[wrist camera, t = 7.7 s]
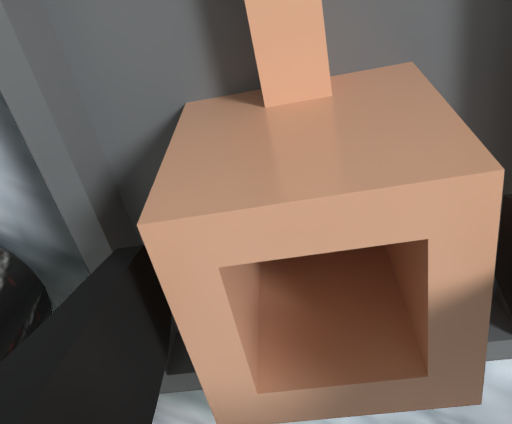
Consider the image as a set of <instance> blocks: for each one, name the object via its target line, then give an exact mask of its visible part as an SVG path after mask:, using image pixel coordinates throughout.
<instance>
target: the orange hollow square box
mask: <svg viewBox="0 0 512 424" xmlns="http://www.w3.org/2000/svg"><path fill="white" fill-rule="evenodd" d="M244 1H245V6H246V11H247V16H248V22H249V27H250V32H251V37H252V42H253V47H254V53H255V58H256V63H257V68H258V73H259V78H260V84H261V89H259V90H254V91H248V92H243V93H237V94H232V95H226V96H221V97H215V98H210V99H204V100H199V101H193V102H188V103H186V104H185V106H184V109H183V111H182V114H181V116H180V119H179V121H178V124H177V126H176V129H175V131H174V134H173V136H172V139H171V141H170V144H169V146H168V149H167V151H166V154H165V156H164V159H163V161H162V164H161V166H160V169H159V171H158V174H157V176H156V179H155V181H154V183H153V186H152V188H151V191H150V193H149V196H148V198H147V201H146V203H145V206H144V208H143V211H142V213H141V216H140V218H139V221H138V223H137V227H138V230H139V232H140V235H141V237H142V239H143V242H144V244H145V247H146V249H147V252H148V254H149V257H150V259H151V262H152V264H153V267H154V269H155V272H156V274H157V277H158V279H159V282H160V284H161V287H162V289H163V292H164V294H165V297H166V299H167V302H168V304H169V307H170V309H171V311H172V314H173V316H174V319H175V321H176V324H177V326H178V329H179V331H180V334H181V336H182V339H183V341H184V344H185V346H186V349H187V351H188V354H189V356H190V359H191V361H192V364H193V366H194V369H195V371H196V374H197V376H198V379H199V381H200V383H201V386H202V388H203V391H204V393H205V396H206V398H207V401H208V403H209V406H210V408H211V411H212V413H213V416H214V418H215V421H216V423H217V424H276V423H287V422H298V421H309V420H319V419H330V418H341V417H351V416H362V415H373V414H383V413H394V412H405V411H416V410H426V409H437V408H448V407H458V406H469V405H480V404H481V403H482V393H483V383H484V373H485V362H486V352H487V342H488V332H489V322H490V312H491V302H492V292H493V282H494V272H495V262H496V252H497V242H498V232H499V222H500V212H501V201H502V191H503V181H504V171H505V169H504V168H503V167H502V166H501V165H500V164H499V162H498V161H497V160H496V159H495V158H494V156H493V155H492V154H491V153H490V152H489V151H488V149H487V148H486V147H485V146H484V145H483V144H482V142H481V141H480V140H479V139H478V138H477V137H476V135H475V134H474V133H473V132H472V131H471V130H470V128H469V127H468V126H467V125H466V124H465V123H464V121H463V120H462V119H461V118H460V117H459V116H458V114H457V113H456V112H455V111H454V110H453V108H452V107H451V106H450V105H449V104H448V103H447V101H446V100H445V99H444V98H443V97H442V96H441V94H440V93H439V92H438V91H437V90H436V89H435V87H434V86H433V85H432V84H431V83H430V82H429V80H428V79H427V78H426V77H425V76H424V75H423V73H422V72H421V71H420V70H419V69H418V68H417V66H416V65H415V64H414V63H413V62H407V63H402V64H396V65H391V66H385V67H380V68H374V69H369V70H363V71H358V72H352V73H347V74H341V75H336V76H331V77H330V71H329V62H328V53H327V44H326V35H325V26H324V17H323V8H322V0H244Z"/></svg>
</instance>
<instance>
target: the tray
mask: <svg viewBox="0 0 512 424" xmlns="http://www.w3.org/2000/svg"><path fill="white" fill-rule="evenodd" d="M322 8H323V17H324V26H325V35H326V44H327V53H328V62H329V71H330V77H331V76H336V75H341V74H347V73H352V72H358V71H363V70H369V69H374V68H380V67H385V66H391V65H396V64H402V63H407V62H413V63H414V64H415V65H416V66H417V68H418V69H419V70H420V71H421V72H422V73H423V75H424V76H425V77H426V78H427V79H428V80H429V82H430V83H431V84H432V85H433V86H434V87H435V89H436V90H437V91H438V92H439V93H440V94H441V96H442V97H443V98H444V99H445V100H446V101H447V103H448V104H449V105H450V106H451V107H452V108H453V110H454V111H455V112H456V113H457V114H458V116H459V117H460V118H461V119H462V120H463V121H464V123H465V124H466V125H467V126H468V127H469V128H470V130H471V131H472V132H473V133H474V134H475V135H476V137H477V138H478V139H479V140H480V141H481V142H482V144H483V145H484V146H485V147H486V148H487V149H488V151H489V152H490V153H491V154H492V155H493V156H494V158H495V159H496V160H497V161H498V162H499V164H500V165H501V166H502V167H503V168H504V169H505V171H504V181H503V191H502V201H501V212H500V222H501V213H502V204H503V195H505V194H512V0H322ZM259 89H261V84H260V78H259V73H258V68H257V63H256V58H255V53H254V47H253V42H252V37H251V32H250V27H249V22H248V16H247V11H246V6H245V1H244V0H0V91H1V93H2V95H3V97H4V99H5V101H6V103H7V105H8V107H9V109H10V111H11V114H12V116H13V118H14V120H15V122H16V124H17V126H18V128H19V130H20V132H21V134H22V136H23V138H24V140H25V142H26V144H27V146H28V148H29V150H30V152H31V154H32V156H33V158H34V160H35V162H36V164H37V166H38V168H39V171H40V173H41V175H42V177H43V179H44V181H45V183H46V185H47V187H48V189H49V191H50V193H51V195H52V197H53V199H54V201H55V203H56V205H57V207H58V209H59V211H60V213H61V215H62V217H63V219H64V221H65V223H66V225H67V228H68V230H69V232H70V234H71V236H72V238H73V240H74V242H75V244H76V246H77V248H78V250H79V252H80V254H81V256H82V258H83V260H84V262H85V264H86V266H87V268H88V270H89V272H90V274H91V273H92V272H93V271H94V270H95V269H96V268H97V267H98V266H99V265H100V264H101V263H102V262H103V261H104V260H105V259H106V258H107V257H108V256H109V255H111V254H112V253H113V252H114V251H115V250H116V249H117V248H124V247H131V246H139V245H145V244H144V242H143V239H142V237H141V235H140V232H139V230H138V227H137V223H138V221H139V218H140V216H141V213H142V211H143V208H144V206H145V203H146V201H147V198H148V196H149V193H150V191H151V188H152V186H153V183H154V181H155V179H156V176H157V174H158V171H159V169H160V166H161V164H162V161H163V159H164V156H165V154H166V151H167V149H168V146H169V144H170V141H171V139H172V136H173V134H174V131H175V129H176V126H177V124H178V121H179V119H180V116H181V114H182V111H183V109H184V106H185V104H186V103H188V102H193V101H199V100H204V99H210V98H215V97H221V96H226V95H232V94H237V93H243V92H248V91H254V90H259ZM500 222H499V231H500ZM498 241H499V232H498ZM497 250H498V242H497ZM148 255H149V254H148ZM496 259H497V252H496ZM150 260H151V259H150ZM152 265H153V264H152ZM495 268H496V262H495ZM154 270H155V269H154ZM156 275H157V274H156ZM158 280H159V279H158ZM160 285H161V284H160ZM161 288H162V287H161ZM162 290H163V289H162ZM163 293H164V292H163ZM164 295H165V294H164ZM165 298H166V297H165ZM166 300H167V299H166ZM167 303H168V302H167ZM168 305H169V304H168ZM169 308H170V307H169ZM170 310H171V309H170ZM171 313H172V311H171ZM503 359H512V315H511V313H510V311H509V308H508V306H507V304H506V302H505V299H504V297H503V295H502V292H501V290H500V287H499V285H498V282H497V280H496V277H495V272H494V282H493V292H492V302H491V312H490V322H489V332H488V342H487V352H486V361H493V360H503ZM202 389H203V388H202V386H201V383H200V381H199V379H198V376H197V374H196V371H195V369H194V366H193V364H192V361H191V359H190V356H189V354H188V351H187V349H186V346H185V344H184V341H183V339H182V336H181V334H180V331H179V329H178V326H177V324H176V321H175V319H174V316H173V314H172V319H171V331H170V341H169V349H168V358H167V362H166V367H165V371H164V375H163V380H162V384H161V388H160V392H159V394H162V393H172V392H182V391H192V390H202Z"/></svg>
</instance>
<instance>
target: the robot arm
mask: <svg viewBox="0 0 512 424" xmlns="http://www.w3.org/2000/svg"><path fill="white" fill-rule="evenodd" d="M495 277H496V280H497V282H498V285H499V287H500V290H501V292H502V295H503V297H504V299H505V302H506V304H507V306H508V308H509V311H510V313H511V315H512V194H505V195H503V204H502V213H501V222H500V231H499V241H498V250H497V259H496V268H495ZM171 319H172V313H171V310H170V308H169V305H168V303H167V300H166V298H165V295H164V293H163V290H162V288H161V285H160V282H159V280H158V277H157V275H156V272H155V270H154V267H153V265H152V262H151V260H150V257H149V255H148V252H147V249H146V247H145V245H139V246H131V247H124V248H117V249H116V250H115V251H114V252H113V253H112V254H111V255H109V256H108V257H107V258H106V259H105V260H104V261H103V262H102V263H101V264H100V265H99V266H98V267H97V268H96V269H95V270H94V271H93V272H92V273H91V275H90V276H89V277H88V278H87V279H86V280H85V281H84V282H83V283H82V284H81V285H80V286H79V287H78V288H77V289H76V290H75V291H74V292H73V293H72V294H71V295H70V296H69V297H68V298H67V299H66V300H65V301H64V302H63V303H62V304H61V305H60V306H59V307H58V308H57V309H56V310H55V311H54V312H53V313H52V314H51V315H50V316H49V317H48V318H47V319H46V320H45V321H44V322H43V323H42V324H41V325H40V326H39V327H38V328H37V329H36V330H35V331H34V332H33V333H31V334H30V335H29V336H28V337H27V338H26V339H25V340H24V341H23V342H22V343H21V344H20V345H19V346H18V347H17V348H16V349H14V350H13V351H12V352H11V353H10V354H9V355H8V356H7V357H6V358H5V359H4V360H3V361H1V362H0V424H152V421H153V417H154V413H155V409H156V405H157V401H158V396H159V392H160V388H161V384H162V380H163V375H164V371H165V367H166V362H167V358H168V349H169V341H170V331H171Z"/></svg>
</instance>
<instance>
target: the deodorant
mask: <svg viewBox="0 0 512 424" xmlns="http://www.w3.org/2000/svg"><path fill="white" fill-rule="evenodd" d="M51 314H52V312H51V303H50V300H49V298H48V295H47V292H46V290H45V287H44V286H43V285H42V283H41V282H40V281H39V279H38V278H37V277H36V275H35V274H34V273H33V271H32V270H31V269H30V268H29V267H28V266H26V265H25V264H24V263H23V262H22V261H21V260H19V259H18V258H17V257H16V256H15V255H14V254H12V253H11V252H9V251H7V250H6V249H4V248H2V247H0V362H1V361H3V360H4V359H5V358H6V357H7V356H8V355H9V354H10V353H11V352H12V351H13V350H14V349H16V348H17V347H18V346H19V345H20V344H21V343H22V342H23V341H24V340H25V339H26V338H27V337H28V336H29V335H30V334H31V333H33V332H34V331H35V330H36V329H37V328H38V327H39V326H40V325H41V324H42V323H43V322H44V321H45V320H46V319H47V318H48V317H49V316H50V315H51Z"/></svg>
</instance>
